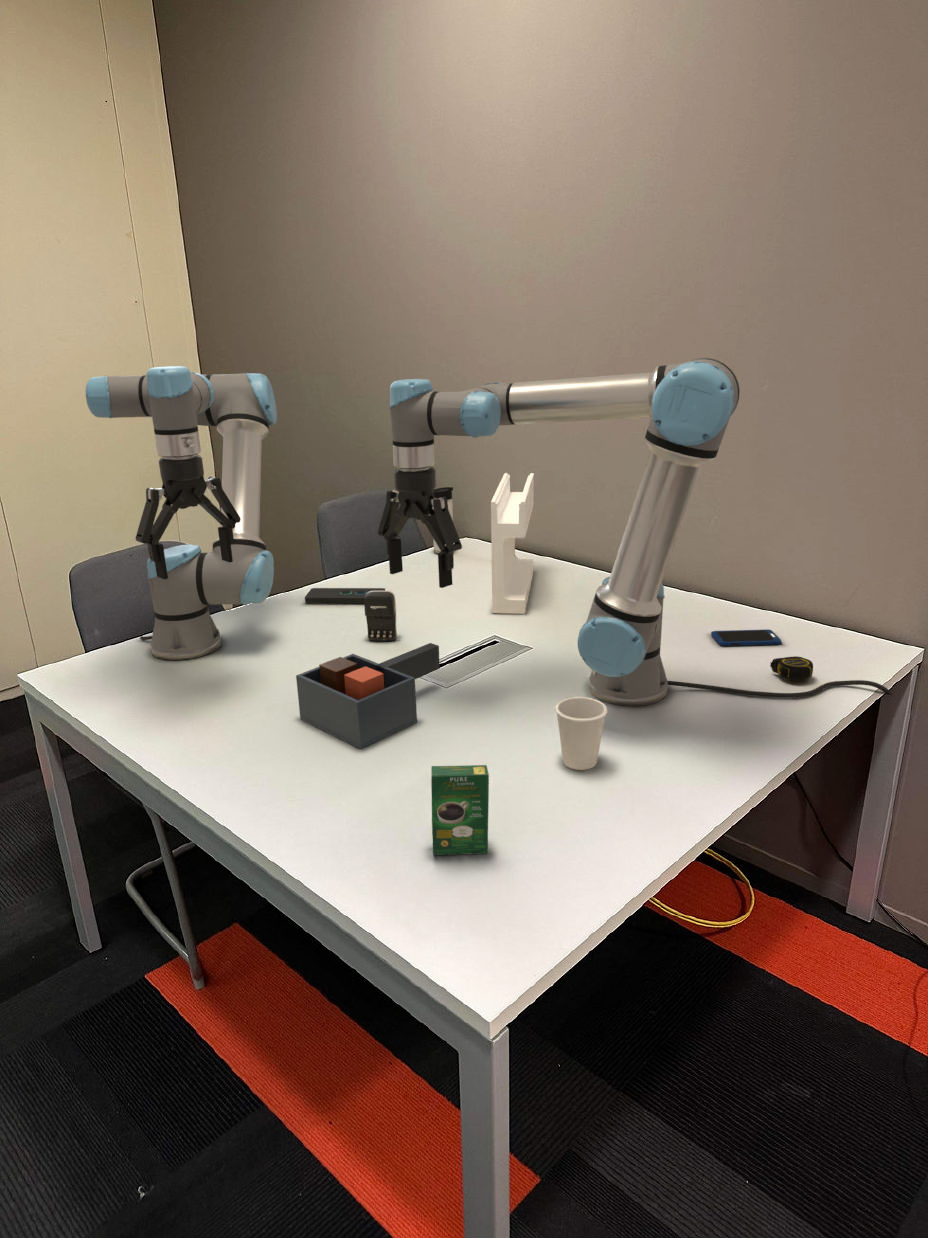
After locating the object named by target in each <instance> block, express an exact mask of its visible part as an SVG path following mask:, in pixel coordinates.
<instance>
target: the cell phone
mask: <svg viewBox="0 0 928 1238" xmlns="http://www.w3.org/2000/svg"><path fill="white" fill-rule="evenodd" d="M710 635H711V636H712V638H713V639H714V640H715V641H716V643H717V644H718V646H722V647H732V646H735V647H738V646H767V645H770V646H771V645H781V644H782V639H781V638H780V637H779V636H778V635H777V634H776V633H775V632H774V631H773V630H772V629H737V630H732V629H731V630H713V631H711V632H710Z"/></svg>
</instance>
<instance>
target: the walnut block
mask: <svg viewBox="0 0 928 1238" xmlns="http://www.w3.org/2000/svg"><path fill="white" fill-rule="evenodd" d="M318 665H319V666H318V667H320V678H321V684H323V685H325V686H327V687H329V688H332V689H334V690H336V691H338V692H341V693H343V694H345V695H346V692H345V679H344V675H345V674H347V673H350V672H352V671H355V670H357V669H358V666H357V663H355V662H352V661H350V660H347V659H345V658H343V657H342V656H339V657H336V658H334V659H331V660H329V661H326V662H322V663H320V664H318Z"/></svg>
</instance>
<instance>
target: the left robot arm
mask: <svg viewBox="0 0 928 1238" xmlns="http://www.w3.org/2000/svg"><path fill="white" fill-rule="evenodd" d="M145 374H146V375H144V374H143V375H102V376H93V377H90V378H89V379H88V381H86V385H85V401H86V405H87V407H88V410H89V411H90V413H91V414H92V415H93V416H94V417H96V418H105V419H107V418H108V419H120V418H151V419H152V425H153V432H154V441H155V447H156V454H157V456H159V457H161V458H159V460H158V468H159V473H160V474H159V475H160V479H161V482H162V485H161V487H160V488H153V487H147V488H146V489H145V500H146V501H145V504H144V507H143V511H142V515H141V517H140V522H139V524H138V527H137V531H136V534H135V542H138V543H141V544H144V545H147V551H148V556H149V557H148V559H147V560H146V569H147V579H148V585H149V590H150V596H151V603H152V608H153V613H154V626H153V628H152V629H153V630H152V635H147V636H143V635H141V636H140V637H139V640H142V641H149V640H150V650H151V654H152V655H153V656H154V657H156V658H157V659H158V658H159V659H161V660H166V661H167V660H168V661H184V660H191V659H195V658H196V659H197V658H199V657H204V656H206V655H209V654H211V653H213V652H215V651H216V650H218V649H219V648H220V647H221V645H222V636H221V632H220V629H219V628H218V627H217V626H216V625H217V624H215V622H214V620H213V618H212V616H211V614H210V611H209V606H215V605H216V606H219V605H220V606H221V605H223V606H224V605H243V606H247V605H250V604H261V603H263V602H265V601H266V600H267V599H268V598H269V595H270V593H271V590H272V587H273V584H274V576H275V566H274V565H275V562H274V556H273V553H272V552H271V551H268V550H267V544H266V543H265V542H264V541H263V540H262V539H261V537H260V532H261V531H260V530H261V529H260V526H261V525H260V524H261V494H262V493H261V489H262V488H261V487H262V486H261V485H262V484H261V483H262V448H263V447H262V446H263V440H264V439H265V438H266V437H268V436H269V432H270V426H274V425H276V424H277V422H278V410H277V403H276V398H275V394H274V390H273V386H272V384H271V382H270V380H269V378H268V376H266V375H265V374H263V373H249V372H246V373H229V374H228V373H221V374H220V373H217V374H216V373H215V374H214V373H213V374H207V373H205V374H201V373H198V372H193V371H192V372H191V370H190V369H189V368H188V367H187V366H182V365H169V366H158V367H157V366H156V367H151V368H149V369H148V370H147V371H146V373H145ZM199 426H201V427H202V426H203V427H216V431H217V432H218V434H220V436H222V463H221V465H222V467H221V479H220V478H219V477H216V476H209V477H208V478H207V479H205V470H204V462H203V457H202V456H201V455H199V454H200V453H202V447H201V442H200V434H199ZM207 489H208V490H210V492H211V493H212V495H213V497H214V498H215V501H216V502H217V503H218V504H219V506H220V509H219V508H218V507H217V506H216V505H215V504H214V503H213V502H212V500H210V499H209V498H208V496H206V495H205V493H206V491H207ZM163 497H164V498H165V500H164V502H163V504H162V506H161V510H160V512H159V514H158V515H157V513H158V509H159V506H160V501H161V500H162V499H163ZM198 506H200V507H202V509H203V510H205V511H206V512H207V514H209V515H210V516H211V517H212V518H213V519H214V520H215V521H216V522H217V523H218V524H220V526H218V527H217V533H218V537H217V538H216V539H215V540H213V541H212V551H211V552H202V549H201V547H200V546H199V544H192V543H189V544H180V545H175V546H171V547H167V548H164V544H163V543H161V542H160V541H161V538H163V535H164V534H165V532H166V530H167V528H168V526H169V524H170V522H171V521H172V519H173V517H174V515H175V514H177V513H178V511H179V510H180V509H181V510H184V509H185V510H186V509H188V508H189V507H193V508H195V507H198ZM156 517H157V518H156Z"/></svg>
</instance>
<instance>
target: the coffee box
mask: <svg viewBox="0 0 928 1238" xmlns="http://www.w3.org/2000/svg"><path fill="white" fill-rule="evenodd" d="M430 768H431V770H430V771H431V775H430V776H431V777H430V778H431V779H430V780H431V782H430V783H431V784H430V785H431V837H432V838H431V839H432V856H449V855H450V856H452V855H480V854H488V853H489V808H490V807H489V806H490V805H489V804H490V803H489V801H490V799H489V797H490V795H489V794H490V793H489V792H490V791H489V790H490V773H489V769H488V765H487V764H479V765H478V764H477V765H476V764H473V765H471V764H470V765H431V767H430Z"/></svg>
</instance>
